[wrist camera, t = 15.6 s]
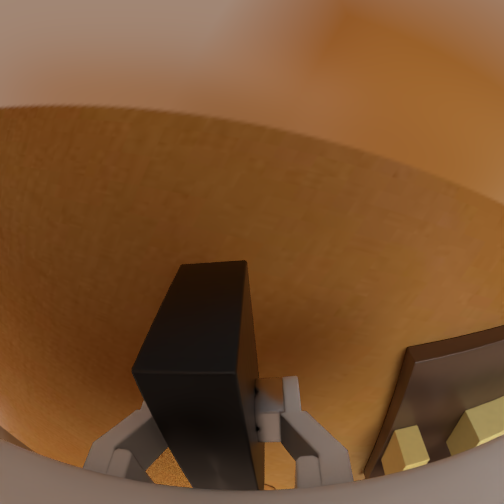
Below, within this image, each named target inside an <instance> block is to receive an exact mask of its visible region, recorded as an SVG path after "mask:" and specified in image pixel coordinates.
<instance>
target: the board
mask: <svg viewBox="0 0 504 504" xmlns="http://www.w3.org/2000/svg"><path fill="white" fill-rule="evenodd" d="M502 396H504V326H500V327H497V328H493V329H489V330H485V331H481V332H478V333H473V334H469V335H465V336H461V337H457V338H452V339H448V340H443V341H438V342H433V343H428V344H423V345H418V346H412V347H408V348H407V351H406V355H405V359H404V362H403V366H402V369H401V373H400V376H399V380H398V383H397V386H396V389H395V392H394V395H393V398H392V401H391V404H390V407H389V410H388V413H387V416H386V418H385V421H384V424H383V427H382V429H381V432H380V434H379V437H378V439H377V442H376V444H375V447H374V449H373V452H372V454H371V456H370V459H369V461H368V463H367V466H366V468H365V470H364V475H365V479H369V478H374V477H379V476H384V475H385V473H384V469H383V465H382V461H381V459H382V457H383V454H384V452H385V450H386V448H387V446H388V444H389V442H390V439H391V437H392V435H393V433H394V430H398V429H402V428H406V427H411V426H415V425H417V426H418V428H419V431H420V434H421V436H422V439H423V442H424V445H425V447H426V450H427V453H428V456H429V459H430V460H429V461H428V463H427V464H429V463H432V462H435V461H438V460H441V459H444V458H447V457H450V456H451V453H450V451H449V448H448V446H447V443H446V441H447V439H448V438H449V436H450V435H451V433H452V432H453V430H454V428H455V427H456V425H457V423H458V422H459V420H460V418H461V417H462V415H463V413H464V412H465V410H468V409H471V408H474V407H477V406H479V405H482V404H485V403H487V402H490V401H493V400H495V399H498V398H500V397H502Z"/></svg>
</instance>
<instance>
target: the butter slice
mask: <svg viewBox="0 0 504 504" xmlns="http://www.w3.org/2000/svg"><path fill="white" fill-rule="evenodd" d="M429 460H430V459H429V456H428V453H427V450H426V447H425V445H424V442H423V439H422V436H421V434H420V431H419V428H418V426H417V425H415V426H411V427H406V428H402V429H398V430H394V433H393V435H392V437H391V439H390V442H389V444H388V446H387V448H386V450H385V452H384V454H383V457H382V459H381V461H382V465H383V469H384V473H385V475H388V474H392V473H396V472H400V471H404V470H408V469H412V468H415V467H419V466H422V465H425V464H427V463H428V461H429Z"/></svg>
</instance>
